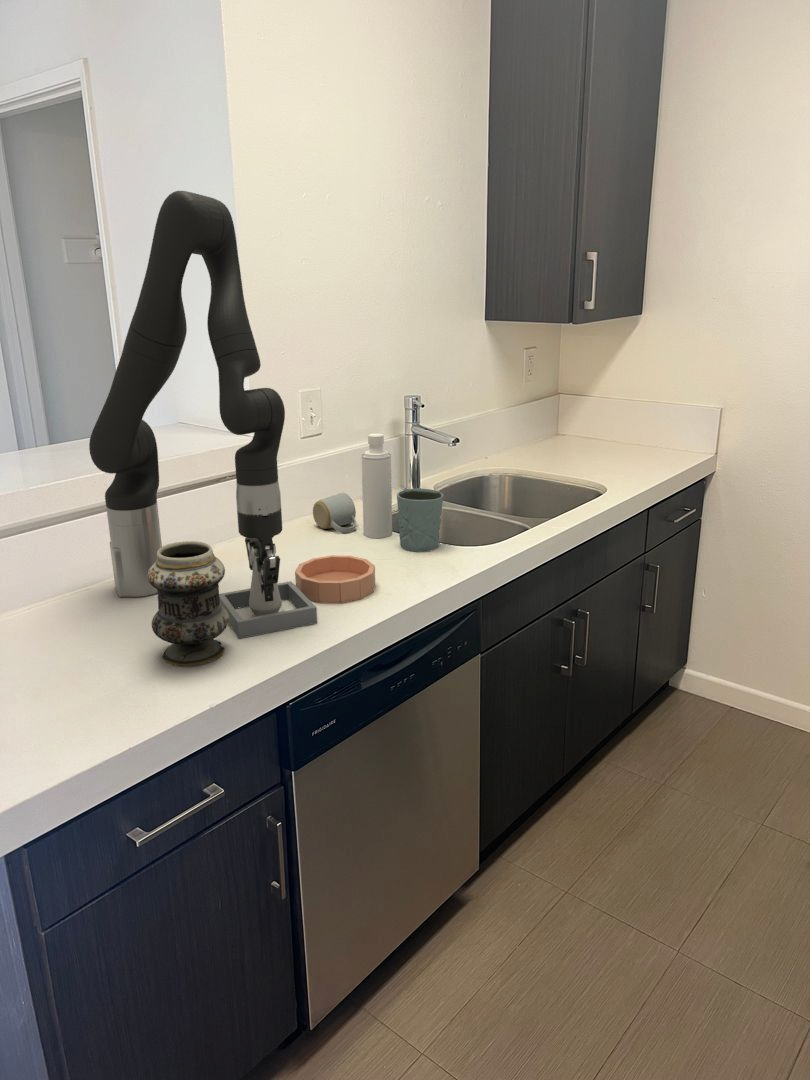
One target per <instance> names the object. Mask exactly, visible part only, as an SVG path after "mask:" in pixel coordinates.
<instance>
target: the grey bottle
mask: <svg viewBox="0 0 810 1080" xmlns="http://www.w3.org/2000/svg"><path fill="white" fill-rule="evenodd" d="M384 436H385V434H384V433H379V432H378V433H375V432H374V433H373V432H372V433H369V434H368V435H367V444H368V446H369V449H368V450H365V451H364V452H363V454H361V485H362V487H361V489H362V491H361V492H362V519H363V520H362V521H363V522H362V524H363V526H362V527H363V530H362V531H363V536H364V537H366V538H370V539H386V538H388V537H390V536H392V535H393V504H392V503H393V500H392V498H393V497H392V496H393V494H392V493H393V492H392V491H393V490H392V489H393V488H392V487H393V486H392V454H391V453H390V452H389V451H388V450H386V449H384V443H385V437H384Z"/></svg>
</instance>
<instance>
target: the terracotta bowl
mask: <svg viewBox="0 0 810 1080" xmlns="http://www.w3.org/2000/svg"><path fill="white" fill-rule="evenodd" d="M294 576H295V577H294V579H295V586H296V587H297V588H298V589H299V590H300V591H301V592H302V593H303V594H304V595H305V596H306V597H307V598H308V599H309V600H310V601H311V600H312V601H311V602H315V601H316V603H320V604H321V603H323V604H326V603H327V604H343V603H342V602H344V603H348V602H347V601H349V602H352V601H351V600H354V601H359V600H362V599H363V598H365V597H367V596H369V595H371V594H374V590H375V588H376V565H375V564H374V563H372V562H371V561H369V560H368V559H366V558H362V557H358V556H354V555H334V554H333V555H325V556H320V557H313V558H311V559H308V560H305V561H304V562H303V561H302V562H301V563H299V564H298V566H297V567H296V569H295V570H294ZM358 599H359V600H358ZM340 602H341V603H340Z"/></svg>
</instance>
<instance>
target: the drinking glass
mask: <svg viewBox="0 0 810 1080" xmlns="http://www.w3.org/2000/svg"><path fill="white" fill-rule="evenodd" d="M396 500H397V501H396V502H397V503H396V505H397V513H398V527H399V546H400V548H401V549H402V550H404V551H407V552H412V553H425V552H431V550H432V551H434V550H437V548H439V544H440V543H439V541H440V530H441V521H442V520H441V519H442V518H441V515H442V511H443V501H444V494H443V492H442V491H439V490H436V489H431V488H408V489H403V490H400V491H398V492H397V493H396Z"/></svg>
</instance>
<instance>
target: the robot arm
mask: <svg viewBox="0 0 810 1080" xmlns="http://www.w3.org/2000/svg"><path fill="white" fill-rule="evenodd" d="M231 214H232V213H231V211H230V210H229V208H228V206H226V204H225V203H224V202H222V201H220V200H218V199H216V198H214V197H211V196H206V195H203V194H199V193H195V192H191V191H186V190H175V191H173V192H171V193H170V194H169V195H168V196H167V197H166V198H165V199H164V201H163V202H162V204H161V207H160V208H159V212H158V214H157V218H156V222H155V227H154V231H153V236H152V243H151V247H150V253H149V257H148V263H147V267H146V270H145V275H144V278H143V282H142V285H141V289H140V293H139V297H138V301H137V304H136V306H135V308H134V312H133V316H132V318H131V319H130V320H131V321H130V324H129V327H128V331H127V334H126V336H125V340H124V344H123V346H122V347H123V348H122V351H121V355H120V358H119V362H118V364H117V367H116V369H115V372H114V373H115V374H114V376H113V379H112V383H111V385H110V386H111V387H110V388H109V392H108V395H107V397H106V399H105V401H104V404H103V407H102V409H101V411H100V413H99V416H98V418H97V419H96V422H95V424H94V426H93V428H92V431H91V433H90V438H89V445H88V446H89V455H90V458H91V460H92V463H93V465H94V466H96V468H97V469H99V470H100V471H101V472H104V473H106V474H115V475H114V478H113V480H112V482H111V484H110V485H109V486H108V487H107V489H106V490H105V492H104V501H105V509H106V517H107V523H108V531H109V532H108V533H109V538H110V542H109V549H110V557H111V564H112V565H111V566H112V570H113V571H112V573H113V578H114V579H113V581H114V585H115V590H116V593H117V595H118V597H119V598H124V597H130V598H132V597H133V598H135V597H136V598H138V597H139V598H140V597H146V596H147V597H148V596H151V595H154V594H158V593H157V589H156V588H154V587H153V586H152V585H151V584H150V583H149V580H148V571H149V569H150V567H151V566H152V565H153V564H154V563H155V562H156V560H157V551H158V550H159V549H160V548H161V547H162V546H163V544H162V535H161V526H160V516H159V508H158V507H159V506H158V505H159V504H158V499H157V497H158V496H157V494H158V490H159V487H160V471H159V468H160V466H159V453H158V444H157V443H158V442H157V439H156V436H155V433H154V432H153V429H152V428H151V426H150V425H149V424H148V423H147V421H145V420H144V419H143V417H144V416H145V413H146V411H147V409H148V408H149V406H150V404H151V403H152V402H153V400H154V399H155V397H156V396H157V395H158V393H160V391H161V390H162V388H164V385H165V384H166V383H167V381H168V380H169V379H170V377H171V375H172V373H174V371H175V368H176V366H177V364H178V361H179V359H180V355H181V354H182V353H181V352H182V350H183V347H184V343H185V341H186V337H187V333H188V332H187V328H188V327H187V318H186V312H185V306H184V302H183V296H182V295H183V293H182V286H183V282H184V281H183V279H184V276H185V273H186V269H187V266H188V263H189V261H190V259H191V256H192V254H193V255H198V256H201V257H202V260H203V261H204V264H205V266H206V269H207V272H208V274H209V276H208V277H209V281H210V298H209V299H210V300H209V306H208V313H207V319H206V321H207V326H206V327H207V335H208V338H209V339H208V340H209V343H210V346H211V349H212V353H213V356H214V360H215V363H216V366H217V371H218V388H219V389H218V390H219V391H218V392H219V393H218V394H219V395H218V396H219V397H218V398H219V399H218V400H219V401H218V403H219V404H218V407H219V408H218V409H219V415H220V419H221V422H222V423H223V426H225V428H226V429H227V430H228V431H229V433H231V434H234V435H237V436H242V435H243V436H244V435H248V434H253V433H254V434H253V437H252V439H251V441H249V443H246V444H245V445H243V446H241V447H239V448H238V449H237V450H236V451H235V453H234V464H235V465H234V466H235V468H234V469H235V478H236V488H235V489H236V491H235V500H236V513H237V514H236V515H237V527H238V533H239V534H240V536H242V537H244V543H245V549H246V553H247V559H248V564H249V569H250V571H253V564H254V562H253V561H251V558H250V550H251V549H252V554H253V556H254V557H255V569H256V571H257V572H259V579H260V581H259V582H260V584H261V591H262V593H263V590H264V595H265V602H268V601H273V591H274V584H273V583H277V584H278V583H279V574H280V565H281V564H280V563H281V558H280V556H279V555H276V554H277V548H276V543H274V541H273V538H275V536H277V535H279V534H281V533H282V531H283V517H282V516H283V515H282V498H281V490H280V483H279V472H278V471H279V469H278V468H279V467H278V455H279V454H278V453H279V448H280V444H281V439H282V435H283V434H282V433H283V429H284V426H285V419H286V417H285V416H286V410H285V405H284V401H283V399H282V397H281V396H280V394H279V393H278V391H276V390H275V389H273V388H271V387H260V388H254V389H253V388H252V389H245V385H244V384H245V378H248V377H251V376H253V375H255V374H256V373H258V372H259V370H260V368H261V366H262V365H261V359H260V355H259V352H258V349H257V348H258V347H257V344H256V340H255V338H254V334H253V331H252V328H251V327H252V326H251V324H250V320H249V316H248V311H247V307H246V302H245V297H244V290H243V283H242V282H243V281H242V274H241V273H242V272H241V266H240V259H239V252H238V245H237V244H238V243H237V235H236V229H235V224H234V221H233V220H234V219H233V217H232V215H231ZM258 554H259V555H258ZM260 565H264V566H263V567H260ZM269 575H270V577H268V576H269ZM268 596H270V597H269V598H268Z"/></svg>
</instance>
